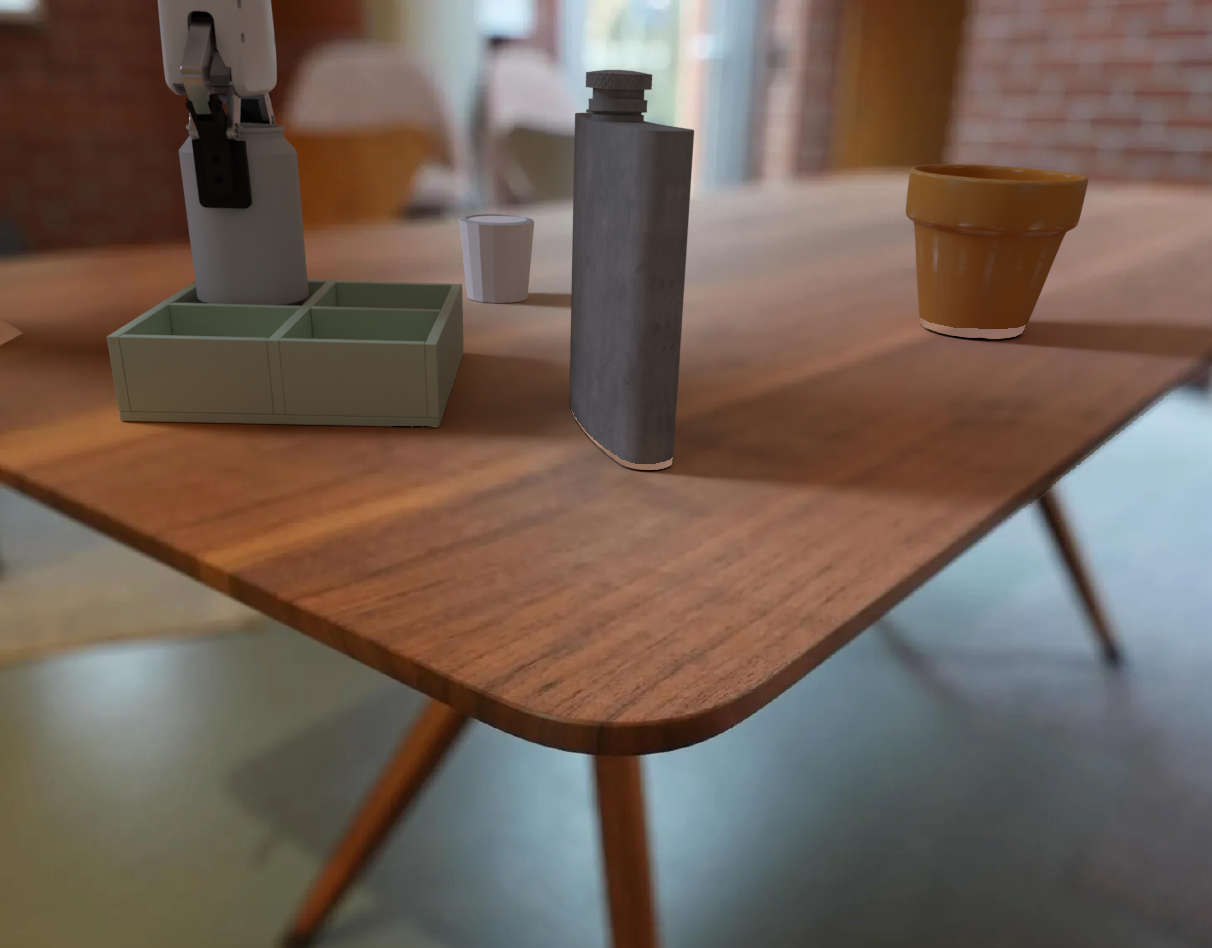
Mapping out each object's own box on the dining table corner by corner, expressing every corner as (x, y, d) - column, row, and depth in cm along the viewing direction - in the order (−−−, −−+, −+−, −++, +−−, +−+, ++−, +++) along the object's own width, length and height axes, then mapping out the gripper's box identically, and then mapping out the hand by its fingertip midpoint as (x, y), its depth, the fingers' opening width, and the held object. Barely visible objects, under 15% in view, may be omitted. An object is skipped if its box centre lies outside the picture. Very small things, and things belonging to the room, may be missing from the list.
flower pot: (955, 353, 90) (985, 181, 84) (856, 316, 102) (877, 163, 96) (1091, 343, 95) (1128, 180, 89) (982, 309, 106) (1009, 163, 101)
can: (229, 324, 73) (205, 126, 68) (180, 305, 78) (155, 119, 73) (330, 311, 78) (315, 125, 73) (278, 294, 83) (261, 118, 78)
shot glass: (520, 288, 108) (520, 212, 105) (544, 302, 103) (545, 222, 100) (451, 291, 106) (449, 214, 103) (472, 306, 100) (470, 224, 97)
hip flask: (680, 469, 62) (706, 75, 54) (609, 473, 62) (625, 72, 53) (610, 392, 76) (622, 68, 67) (552, 394, 75) (556, 65, 66)
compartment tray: (120, 421, 67) (106, 336, 65) (209, 346, 84) (201, 276, 82) (439, 427, 68) (436, 344, 66) (463, 352, 85) (462, 283, 83)
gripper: (189, -96, 75) (221, 184, 83) (91, -134, 59) (142, 215, 67) (302, -91, 75) (323, 187, 83) (234, -128, 59) (269, 219, 67)
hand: (242, 198), depth 75 cm, fingers closed on can, 7 cm apart
